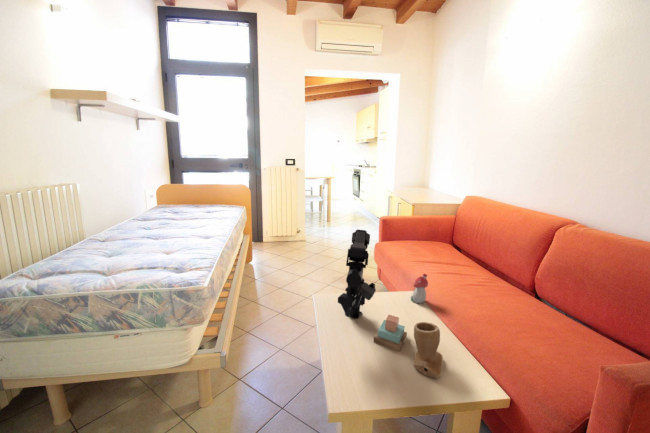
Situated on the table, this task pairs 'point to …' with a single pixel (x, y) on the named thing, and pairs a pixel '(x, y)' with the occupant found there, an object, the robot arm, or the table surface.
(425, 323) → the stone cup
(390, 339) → the tower top
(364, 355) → the table surface
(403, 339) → the tower base
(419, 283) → the decorative ornament
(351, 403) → the table surface
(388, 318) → the terracotta cube
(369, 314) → the table surface
